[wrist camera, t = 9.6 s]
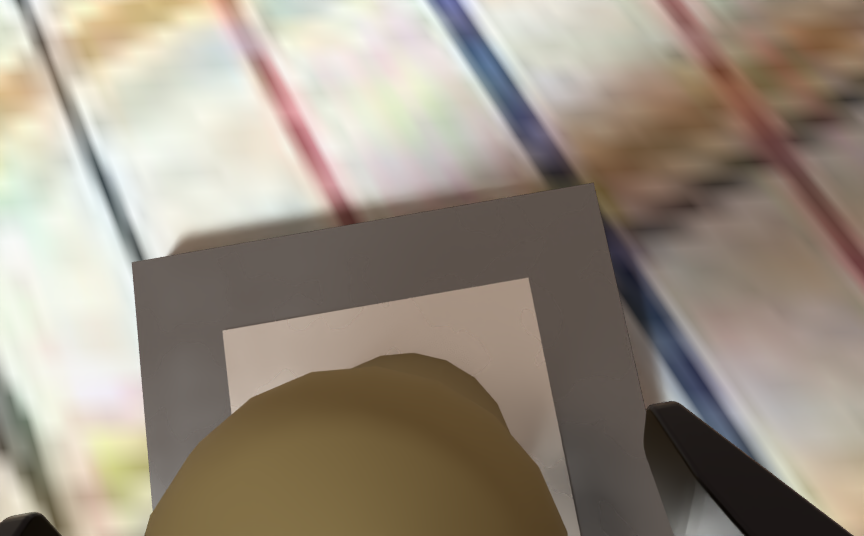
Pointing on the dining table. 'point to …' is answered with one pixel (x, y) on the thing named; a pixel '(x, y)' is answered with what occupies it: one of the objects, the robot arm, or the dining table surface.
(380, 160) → the dining table surface
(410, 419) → the cork
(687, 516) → the robot arm
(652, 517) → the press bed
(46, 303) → the dining table surface
